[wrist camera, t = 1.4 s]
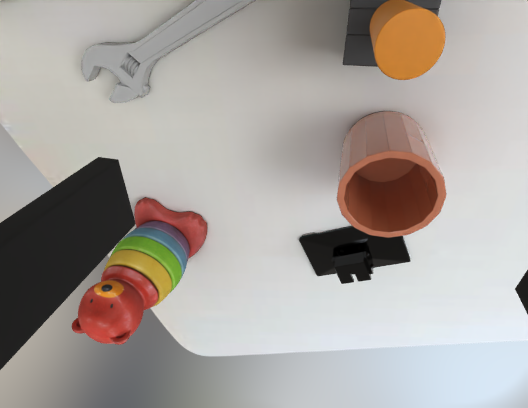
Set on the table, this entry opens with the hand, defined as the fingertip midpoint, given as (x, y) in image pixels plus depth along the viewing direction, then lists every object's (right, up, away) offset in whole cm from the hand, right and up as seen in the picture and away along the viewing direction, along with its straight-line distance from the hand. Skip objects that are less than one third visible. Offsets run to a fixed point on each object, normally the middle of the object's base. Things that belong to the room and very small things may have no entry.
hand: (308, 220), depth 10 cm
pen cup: (+11, +6, +24) cm, 27 cm away
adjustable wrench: (-9, +17, +22) cm, 30 cm away
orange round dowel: (+9, +16, +17) cm, 26 cm away
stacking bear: (-15, -3, +38) cm, 41 cm away
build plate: (+10, -5, +32) cm, 34 cm away
